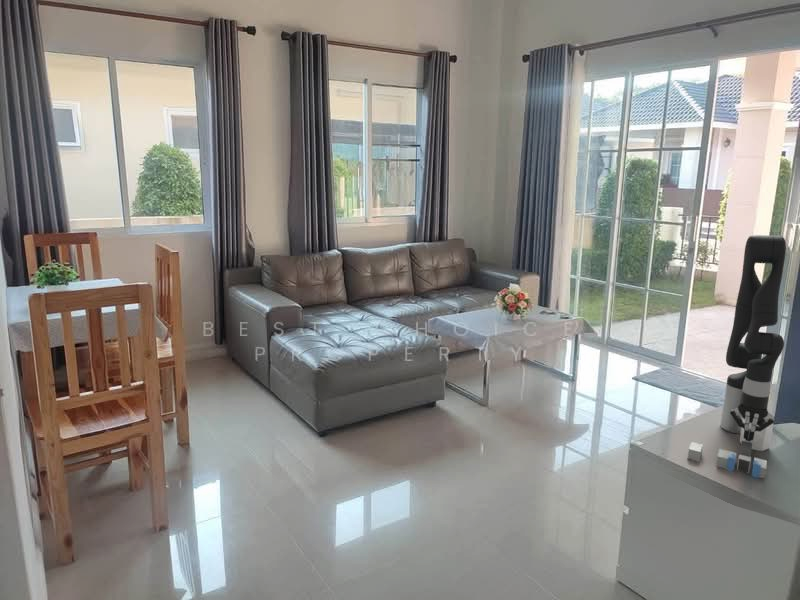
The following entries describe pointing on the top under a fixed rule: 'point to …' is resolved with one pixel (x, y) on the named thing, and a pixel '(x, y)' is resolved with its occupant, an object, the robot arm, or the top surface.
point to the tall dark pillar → (744, 457)
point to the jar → (759, 436)
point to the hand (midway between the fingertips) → (747, 440)
